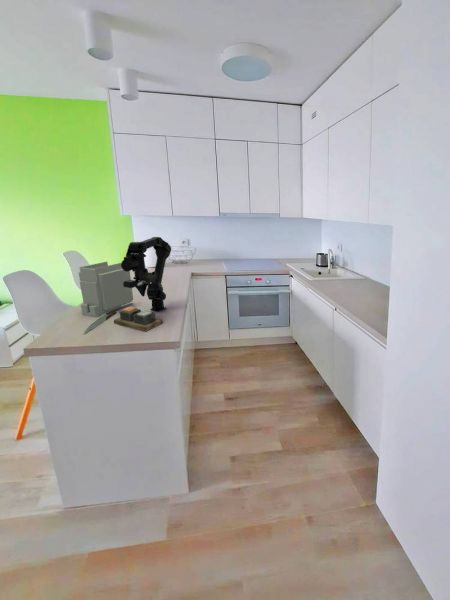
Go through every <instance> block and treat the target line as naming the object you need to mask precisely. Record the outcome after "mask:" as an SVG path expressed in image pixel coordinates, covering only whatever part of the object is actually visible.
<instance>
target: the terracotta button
mask: <svg viewBox="0 0 450 600" xmlns="http://www.w3.org/2000/svg"><path fill="white" fill-rule="evenodd" d="M137 309H138V308H137V307H134V306H127V307H125V308H122V311H123V312H126V313H132V312H134V311H137Z"/></svg>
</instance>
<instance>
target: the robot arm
mask: <svg viewBox="0 0 450 600" xmlns="http://www.w3.org/2000/svg"><path fill="white" fill-rule="evenodd" d="M127 247H128V248H127V250H126V253H125V256H123V260H122V261H121V262H120V263H121V267H122V269H123V270H124V271H126V272H128V271H130V272H131V271H132V272H133V273H134V277H132V278H133V280H132V279H131V280H127V281H124V282H123V286H124V287H128V288H132V289H133V288H135V289H136V290H138V293H139V294H140V295H141V296H142V297H145V295H147V297H148V300H150V301H151V308H150V310H151V311H153V312H161V311H164V310H165V309H167V307H166V306H165V304H164V301H165V300H166V297H167V294H166V293H165V292H164V287H163V284H162V282H163V278H164V277H163V276H164V272H165V271H164V270H165V267H166V260H167V259H168V258H169V257H170V255H171V252H172V247H171V245H170V244H169V242H167V241H166V240H164V239H163V238H162V237H160V236H153V237H151V238H147V239H145V240H141V241H131V242H129V245H128V246H127ZM150 248H153V249H154V252H155V255H156V263H155V267H154V271H151V272H149V271H148V270H149V269H148V268H146V262H145V258H146V257H147V255H146V254H145V253H146V252H147V251H148V249H150Z"/></svg>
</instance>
